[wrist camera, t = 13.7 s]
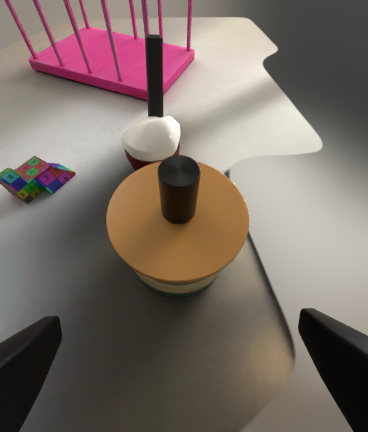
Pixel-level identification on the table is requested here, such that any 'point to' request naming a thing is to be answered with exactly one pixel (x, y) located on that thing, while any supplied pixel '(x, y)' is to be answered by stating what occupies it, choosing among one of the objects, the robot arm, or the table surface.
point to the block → (34, 178)
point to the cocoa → (152, 116)
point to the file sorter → (107, 53)
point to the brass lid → (177, 220)
